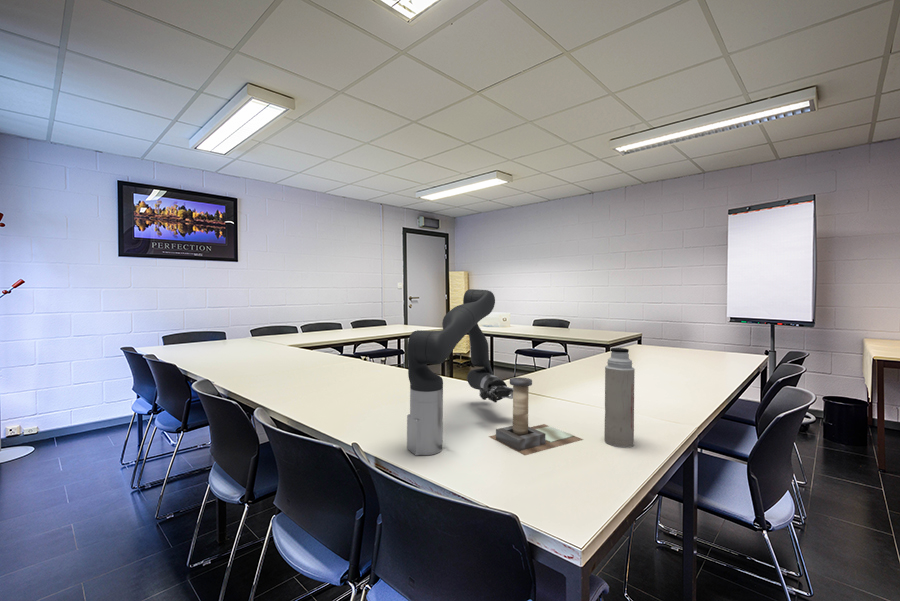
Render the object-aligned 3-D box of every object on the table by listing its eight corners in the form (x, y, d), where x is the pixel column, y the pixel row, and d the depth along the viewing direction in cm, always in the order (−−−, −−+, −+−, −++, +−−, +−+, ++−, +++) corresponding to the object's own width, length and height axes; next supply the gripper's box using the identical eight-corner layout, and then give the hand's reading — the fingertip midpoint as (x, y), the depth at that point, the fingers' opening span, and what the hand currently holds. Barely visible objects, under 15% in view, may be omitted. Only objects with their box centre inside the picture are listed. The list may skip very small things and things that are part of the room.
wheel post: (519, 447, 107) (519, 383, 107) (504, 440, 113) (505, 378, 113) (536, 443, 111) (536, 380, 111) (521, 436, 116) (521, 376, 116)
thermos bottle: (636, 441, 115) (637, 348, 115) (630, 449, 109) (631, 350, 109) (608, 435, 120) (609, 345, 120) (601, 443, 114) (602, 348, 114)
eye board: (524, 459, 102) (524, 444, 102) (488, 439, 116) (488, 426, 116) (583, 442, 114) (583, 429, 114) (544, 427, 128) (544, 415, 128)
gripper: (473, 377, 136) (487, 387, 120) (512, 375, 138) (530, 386, 122) (473, 398, 136) (487, 411, 120) (512, 396, 138) (530, 409, 122)
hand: (509, 398), depth 121 cm, fingers open, 8 cm apart
